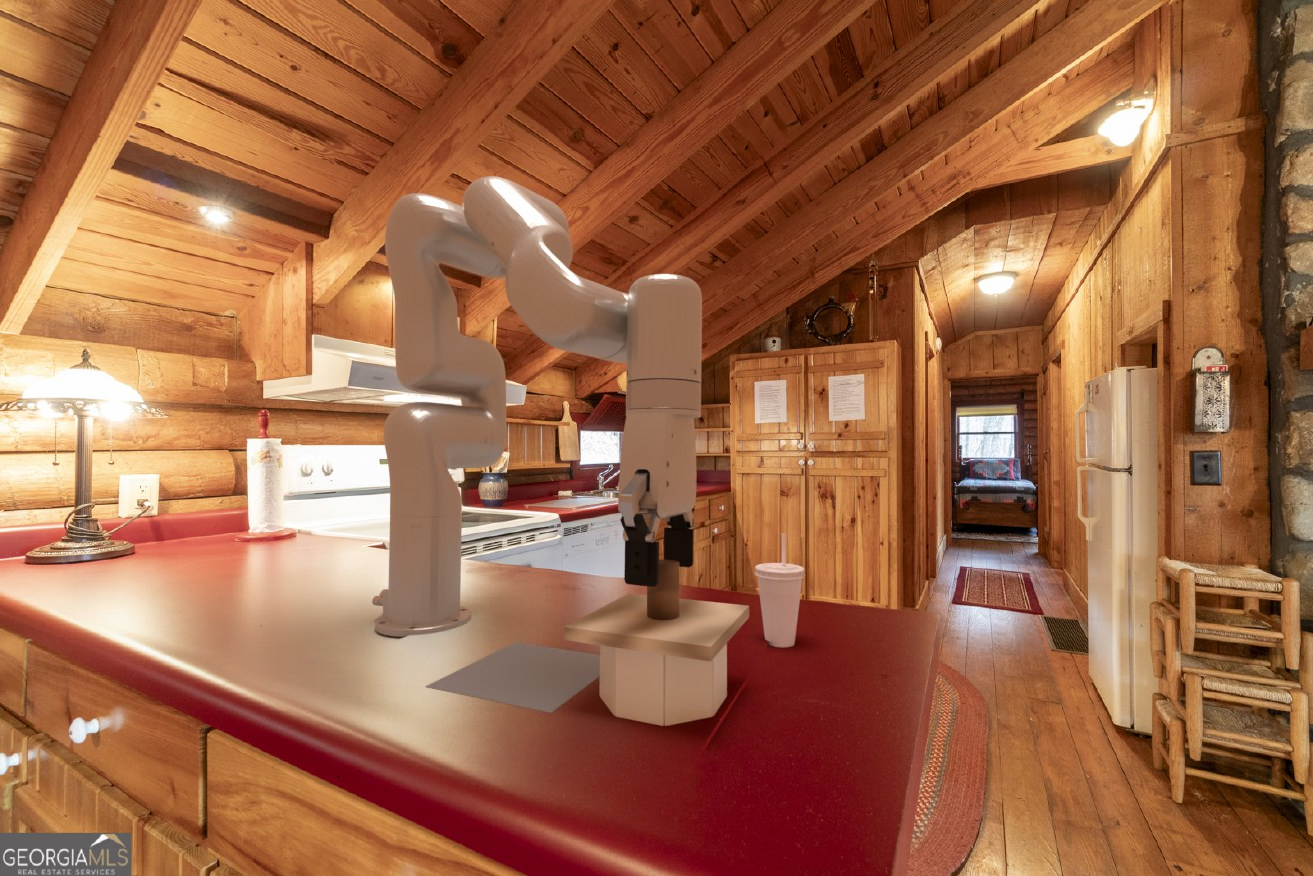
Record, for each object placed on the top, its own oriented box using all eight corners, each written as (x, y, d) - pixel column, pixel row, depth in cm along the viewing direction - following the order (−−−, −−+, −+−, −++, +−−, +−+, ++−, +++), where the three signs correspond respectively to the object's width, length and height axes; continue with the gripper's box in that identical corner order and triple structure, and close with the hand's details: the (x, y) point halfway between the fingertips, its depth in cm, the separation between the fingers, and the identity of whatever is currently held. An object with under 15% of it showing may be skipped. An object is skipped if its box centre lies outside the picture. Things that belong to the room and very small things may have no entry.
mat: (424, 691, 56) (424, 686, 57) (515, 646, 70) (515, 642, 70) (551, 718, 51) (551, 712, 51) (622, 663, 65) (622, 658, 65)
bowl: (581, 714, 52) (582, 638, 52) (634, 671, 62) (634, 607, 63) (701, 739, 47) (701, 655, 47) (735, 687, 58) (735, 619, 58)
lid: (564, 640, 51) (564, 569, 51) (628, 603, 64) (629, 547, 64) (710, 661, 46) (710, 583, 46) (749, 617, 59) (749, 556, 59)
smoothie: (807, 652, 68) (806, 537, 69) (753, 649, 70) (753, 536, 70) (803, 636, 75) (803, 531, 75) (755, 633, 76) (754, 530, 76)
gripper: (660, 410, 65) (659, 557, 65) (588, 394, 49) (584, 589, 49) (723, 409, 62) (721, 562, 62) (667, 391, 46) (664, 599, 46)
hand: (661, 574), depth 55 cm, fingers open, 9 cm apart
